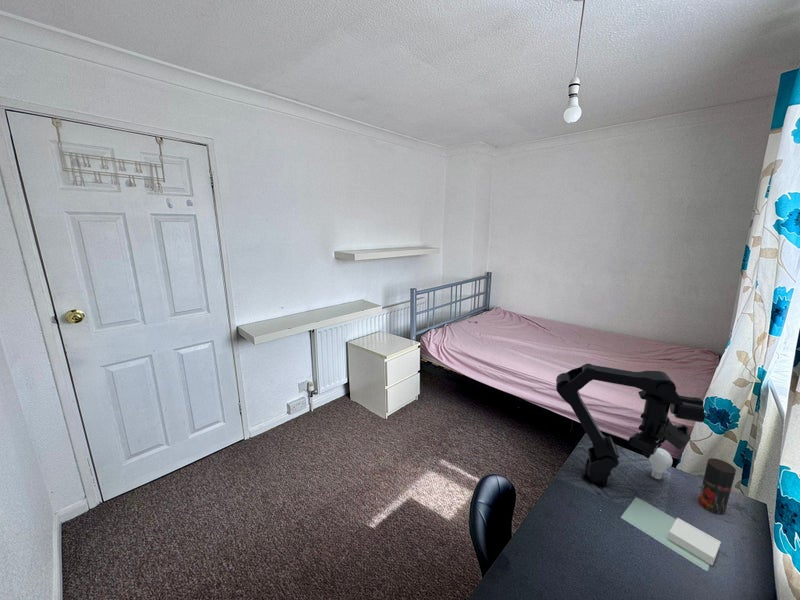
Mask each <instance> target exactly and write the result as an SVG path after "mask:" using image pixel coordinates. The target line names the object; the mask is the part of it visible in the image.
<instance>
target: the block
mask: <svg viewBox="0 0 800 600" xmlns="http://www.w3.org/2000/svg"><path fill="white" fill-rule="evenodd" d="M675 519H676V521H675V522H674V524H673V526H672V528H671V529H670V531H669V535H668V539H669V540H670V541H672V542H674V543H675V544H677V545H678V546H680V547H682V548H683V549H685V550H687V551H688V552H690V553H692V554H693V555H695V556H697V557H698V558H700V559H701V560H703V561H705V562H706V563H708V564H710V566H713V565H714V563H715V559H716V558H717V556H718V552H719V549H720V546H721V543H722V542H721V541H720V540H718V539H717V538H714V537H713V536H711V535H709V534H708V533H706V532H705V531H702V530H701V529H699V528H697V527H695V526H693V525H692V524H690V523H688V522H686V521H684V520H682V519H681V518H679V517H676V518H675Z"/></svg>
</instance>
